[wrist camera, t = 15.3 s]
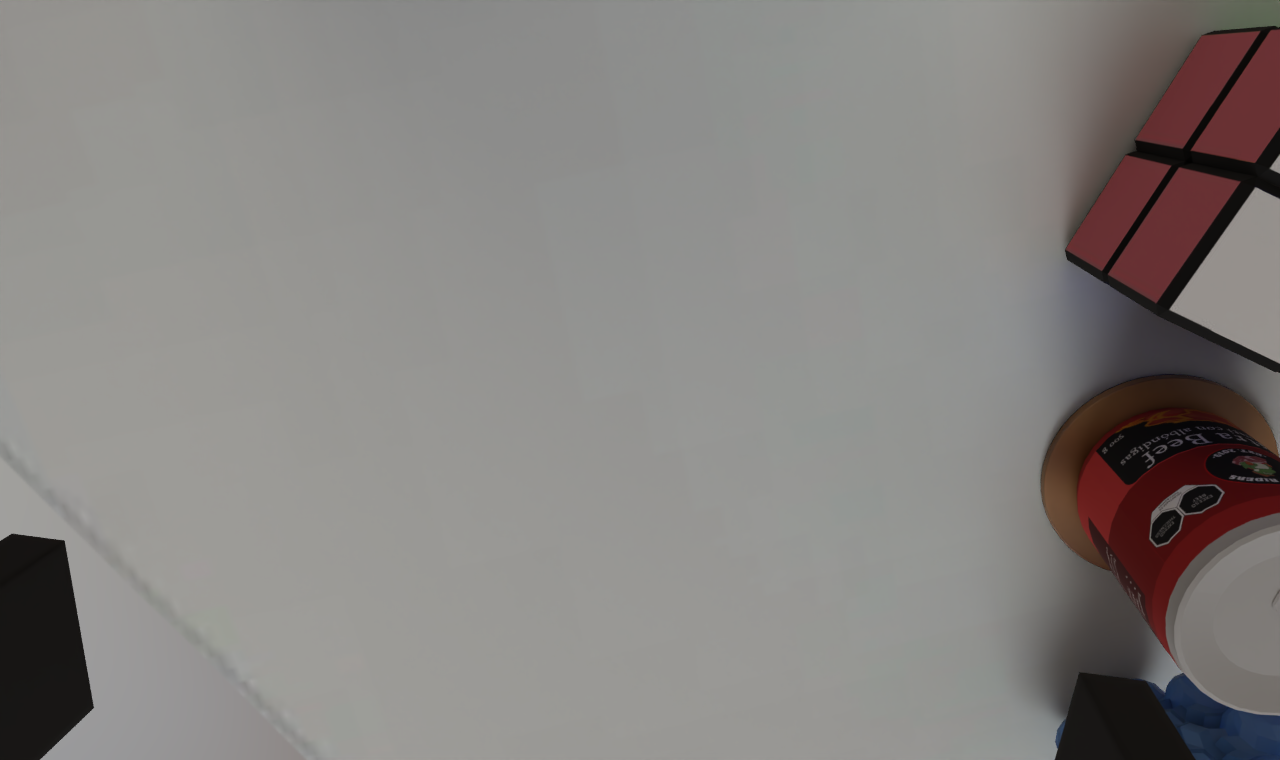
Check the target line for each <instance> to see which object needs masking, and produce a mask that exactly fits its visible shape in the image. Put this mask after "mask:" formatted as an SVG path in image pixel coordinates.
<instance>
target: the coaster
mask: <svg viewBox="0 0 1280 760" xmlns="http://www.w3.org/2000/svg"><path fill="white" fill-rule="evenodd" d="M1163 408H1188V409H1195V410H1199V411H1204V412H1209V413H1213V414H1215V415H1218V416H1220V417H1222V418H1225V419H1227V420H1229V421H1230V422H1232V423H1233V424H1234V425H1236V426H1237V427H1239V428H1240V429H1241V430H1243V431H1244V432H1245V433H1247V434H1248V435H1250V436H1251V437H1252V438H1254V439H1255V440H1256V441H1258V442H1259V443H1260V444H1262V445H1263V446H1264V447H1266V448H1267V449H1269V450H1270V451H1271V452H1273V453H1274V454H1275V455H1277V456H1278V457H1279V454H1278V450H1277V445H1276V441H1275V438H1274V436H1273V434H1272V431H1271V429H1270V427H1269V425H1268V424H1267V422H1266V421H1265V419H1264V417H1263V416H1262V415H1261V414H1260V413H1259V412H1258V410H1257V409H1256V408H1255V407H1254V406H1253V405H1251V404H1250V403H1249V402H1248V401H1247V400H1246V399H1244V398H1243V397H1242V396H1240V395H1238V394H1237V393H1235V392H1234V391H1232V390H1230V389H1229V388H1227V387H1225V386H1222V385H1220V384H1218V383H1216V382H1213V381H1209V380H1206V379H1203V378H1199V377H1192V376H1186V375H1158V376H1150V377H1145V378H1139V379H1135V380H1132V381H1129V382H1125V383H1122V384H1120V385H1117V386H1115V387H1113V388H1111V389H1108V390H1106V391H1104V392H1103V393H1101V394H1099V395H1097V396H1096V397H1094V398H1093V399H1091V400H1090V401H1088V402H1087V403H1086V404H1084V405H1083V406H1082V407H1080V408H1079V409H1078V410H1077V411H1076V412H1075V413H1074V414H1073V415H1072V416H1071V417H1070V418H1069V419H1068V420H1067V421H1066V423H1065V424H1064V425H1063V426H1062V427H1061V429H1060V430H1059V432H1058V433H1057V435H1056V436H1055V438H1054V439H1053V441H1052V443H1051V446H1050V448H1049V450H1048V452H1047V455H1046V458H1045V461H1044V464H1043V470H1042V476H1041V494H1042V501H1043V505H1044V508H1045V511H1046V515H1047V517H1048V519H1049V521H1050V523H1051V525H1052V526H1053V528H1054V530H1055V531H1056V532H1057V534H1058V535H1059V537H1060V538H1061V540H1062V541H1063V542H1064V543H1065V544H1066V545H1067V546H1068V547H1069V548H1070V549H1071V550H1072V551H1074V552H1075V553H1076V554H1077V555H1079V556H1080V557H1082V558H1083V559H1085V560H1087V561H1088V562H1090V563H1092V564H1094V565H1096V566H1099V567H1101V568H1103V569H1106V570H1109V571H1111V570H1110V568H1109V567H1108V565H1107V564H1106V563H1105V561H1104V560H1103V558H1102V557H1101V555H1100V554H1099V552H1098V551H1097V549H1096V548H1095V547H1094V545H1093V544H1092V542H1091V541H1090V539H1089V538H1088V536H1087V534H1086V532H1085V531H1084V529H1083V527H1082V525H1081V521H1080V518H1079V514H1078V505H1077V484H1078V478H1079V474H1080V471H1081V469H1082V466H1083V464H1084V461H1085V459H1086V458H1087V456H1088V455H1089V453H1090V451H1091V450H1092V448H1093V447H1094V446H1095V445H1096V444H1097V443H1098V441H1099V440H1100V439H1101V438H1102V437H1103V436H1104V435H1105V434H1106V433H1108V432H1109V431H1110V430H1112V429H1113V428H1114V427H1116V426H1117V425H1118V424H1120V423H1122V422H1124V421H1126V420H1127V419H1129V418H1131V417H1133V416H1136V415H1139V414H1142V413H1145V412H1148V411H1151V410H1157V409H1163Z"/></svg>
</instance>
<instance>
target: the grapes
mask: <svg viewBox="0 0 1280 760" xmlns="http://www.w3.org/2000/svg"><path fill="white" fill-rule="evenodd" d="M1134 680H1141V679H1134ZM1142 681H1145V680H1142ZM1146 682H1147V683H1148V685H1149V686H1150V688H1151V690H1152V691H1153V693H1154V694H1155V696H1156V698H1157V699H1158V701H1159V702H1160V704H1161V705H1162V707H1163V709H1164V710H1165V712H1166V713H1167V715H1168V717H1169V718H1170V720H1171V721H1172V723H1173V724H1174V726H1175V728H1176V729H1177V731H1178V732H1179V734H1180V736H1181V737H1182V739H1183V740H1184V742H1185V743H1186V745H1187V747H1188V748H1189V750H1190V751H1191V753H1192V755H1193V756H1194V758H1195V759H1196V760H1280V716H1278V715H1260V714H1253V713H1248V712H1244V711H1239V710H1235V709H1233V708H1230V707H1228V706H1226V705H1223V704H1221V703H1218V702H1216V701H1215V700H1213V699H1212V698H1210V697H1209V696H1207V695H1206V694H1205V693H1203V692H1202V691H1200V690H1199V689H1198V688H1197V686H1196V685H1195V684H1194V683H1193V682H1192V681H1191V680H1190V679H1189V678H1188V677H1187V676H1186V675H1185V674H1184V673H1182V674H1180V675H1177V676H1175V677H1173V679H1172V680H1171V681H1170V682H1169V684H1168V685H1167V688H1166V693H1165V692H1163V691H1162V690H1161V689H1160V688H1159V687H1158V686H1157V685H1155V684H1154V683H1151V682H1148V681H1146ZM1065 722H1066V719H1065V720H1064V721H1063V722H1062V724H1061V725H1060V727H1059V728H1058V730H1057V735H1056V741H1055V742H1056V745H1057V748H1058V747H1059V743H1060V740H1061V736H1062V733H1063V729H1064V725H1065Z"/></svg>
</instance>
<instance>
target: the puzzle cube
mask: <svg viewBox="0 0 1280 760" xmlns="http://www.w3.org/2000/svg"><path fill="white" fill-rule="evenodd" d="M1135 143H1136V147H1137V151H1135V152H1132V153H1129V154H1127V155H1125V157H1124V158H1123V160H1122V161H1121V163H1120V164H1119V166H1118V168H1117V169H1116V171H1115V172H1114V174H1113V175H1112V177H1111V179H1110V180H1109V182H1108V183H1107V185H1106V186H1105V188H1104V190H1103V191H1102V193H1101V194H1100V196H1099V197H1098V199H1097V200H1096V202H1095V204H1094V205H1093V207H1092V208H1091V210H1090V211H1089V213H1088V215H1087V216H1086V218H1085V219H1084V221H1083V222H1082V224H1081V226H1080V227H1079V229H1078V230H1077V232H1076V233H1075V235H1074V237H1073V238H1072V240H1071V241H1070V243H1069V244H1068V246H1067V248H1066V249H1065V252H1066V256H1067V260H1069V261H1070V262H1072V263H1073V264H1075V265H1077V266H1078V267H1080V268H1082V269H1083V270H1085V271H1086V272H1088V273H1090V274H1091V275H1093V276H1094V277H1096V278H1098V279H1099V280H1101V281H1103V282H1104V283H1106V284H1108V285H1110V286H1111V287H1112V288H1114V289H1116V290H1117V291H1119V292H1120V293H1122V294H1124V295H1125V296H1127V297H1129V298H1130V299H1132V300H1133V301H1135V302H1137V303H1138V304H1140V305H1141V306H1143V307H1145V308H1146V309H1148V310H1150V311H1151V312H1153V313H1154V314H1156V315H1158V316H1159V317H1162V318H1164V319H1166V320H1168V321H1170V322H1172V323H1174V324H1176V325H1178V326H1180V327H1182V328H1184V329H1187V330H1189V331H1191V332H1193V333H1195V334H1197V335H1199V336H1201V337H1203V338H1205V339H1207V340H1209V341H1212V342H1214V343H1216V344H1218V345H1220V346H1222V347H1224V348H1226V349H1228V350H1230V351H1232V352H1234V353H1237V354H1239V355H1241V356H1243V357H1245V358H1247V359H1249V360H1251V361H1253V362H1255V363H1257V364H1259V365H1262V366H1264V367H1266V368H1268V369H1270V370H1272V371H1274V372H1279V373H1280V27H1279V28H1278V27H1276V26H1268V27H1256V28H1244V29H1232V30H1220V31H1213V32H1210V33H1207V34H1204V35H1202V36H1201V37H1200V39H1199V41H1198V42H1197V44H1196V45H1195V47H1194V48H1193V50H1192V52H1191V53H1190V55H1189V56H1188V58H1187V59H1186V61H1185V63H1184V64H1183V66H1182V67H1181V69H1180V70H1179V72H1178V73H1177V75H1176V77H1175V78H1174V80H1173V81H1172V83H1171V84H1170V86H1169V88H1168V89H1167V91H1166V92H1165V94H1164V95H1163V97H1162V99H1161V100H1160V102H1159V103H1158V105H1157V106H1156V108H1155V110H1154V111H1153V113H1152V114H1151V116H1150V117H1149V119H1148V121H1147V122H1146V124H1145V125H1144V127H1143V128H1142V130H1141V132H1140V133H1139V135H1138V136H1137V138H1136V139H1135Z"/></svg>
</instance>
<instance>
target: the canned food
mask: <svg viewBox="0 0 1280 760" xmlns="http://www.w3.org/2000/svg"><path fill="white" fill-rule="evenodd" d="M1077 505H1078V514H1079V518H1080V521H1081V525H1082V527H1083V529H1084V531H1085V532H1086V534H1087V536H1088V538H1089V539H1090V541H1091V542H1092V544H1093V545H1094V547H1095V548H1096V549H1097V551H1098V552H1099V554H1100V555H1101V557H1102V558H1103V560H1104V561H1105V563H1106V564H1107V565H1108V567H1109V568H1110V570H1111V571H1112V573H1113V574H1114V576H1115V577H1116V579H1117V580H1118V581H1119V583H1120V584H1121V586H1122V587H1123V589H1124V590H1125V592H1126V593H1127V594H1128V596H1129V597H1130V599H1131V600H1132V602H1133V603H1134V605H1135V606H1136V608H1137V609H1138V610H1139V612H1140V613H1141V615H1142V616H1143V618H1144V619H1145V621H1146V622H1147V623H1148V625H1149V626H1150V628H1151V629H1152V631H1153V632H1154V634H1155V635H1156V637H1157V638H1158V639H1159V641H1160V642H1161V644H1162V645H1163V647H1164V648H1165V650H1166V651H1167V652H1168V653H1169V654H1170V656H1171V657H1172V659H1173V660H1174V661H1175V663H1176V664H1177V666H1178V667H1179V669H1180V670H1181V671H1182V672H1183V673H1184V674H1185V675H1186V676H1187V677H1188V678H1189V679H1190V680H1191V681H1192V682H1193V683H1194V684H1195V685H1196V686H1197V688H1198V689H1199V690H1200V691H1202V692H1203V693H1205V694H1206V695H1207V696H1209V697H1210V698H1212V699H1213V700H1215V701H1216V702H1218V703H1221V704H1223V705H1226V706H1228V707H1230V708H1233V709H1235V710H1239V711H1244V712H1248V713H1253V714H1260V715H1278V716H1280V458H1279V457H1278V456H1277V455H1275V454H1274V453H1273V452H1271V451H1270V450H1269V449H1267V448H1266V447H1264V446H1263V445H1262V444H1260V443H1259V442H1258V441H1256V440H1255V439H1254V438H1252V437H1251V436H1250V435H1248V434H1247V433H1245V432H1244V431H1243V430H1241V429H1240V428H1239V427H1237V426H1236V425H1234V424H1233V423H1232V422H1230V421H1229V420H1227V419H1225V418H1222V417H1220V416H1218V415H1215V414H1213V413H1209V412H1204V411H1199V410H1195V409H1188V408H1163V409H1157V410H1151V411H1148V412H1145V413H1142V414H1139V415H1136V416H1133V417H1131V418H1129V419H1127V420H1126V421H1124V422H1122V423H1120V424H1118V425H1117V426H1116V427H1114V428H1113V429H1112V430H1110V431H1109V432H1108V433H1106V434H1105V435H1104V436H1103V437H1102V438H1101V439H1100V440H1099V441H1098V443H1097V444H1096V445H1095V446H1094V447H1093V448H1092V450H1091V451H1090V453H1089V455H1088V456H1087V458H1086V459H1085V461H1084V464H1083V466H1082V469H1081V471H1080V474H1079V478H1078V484H1077Z"/></svg>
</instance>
